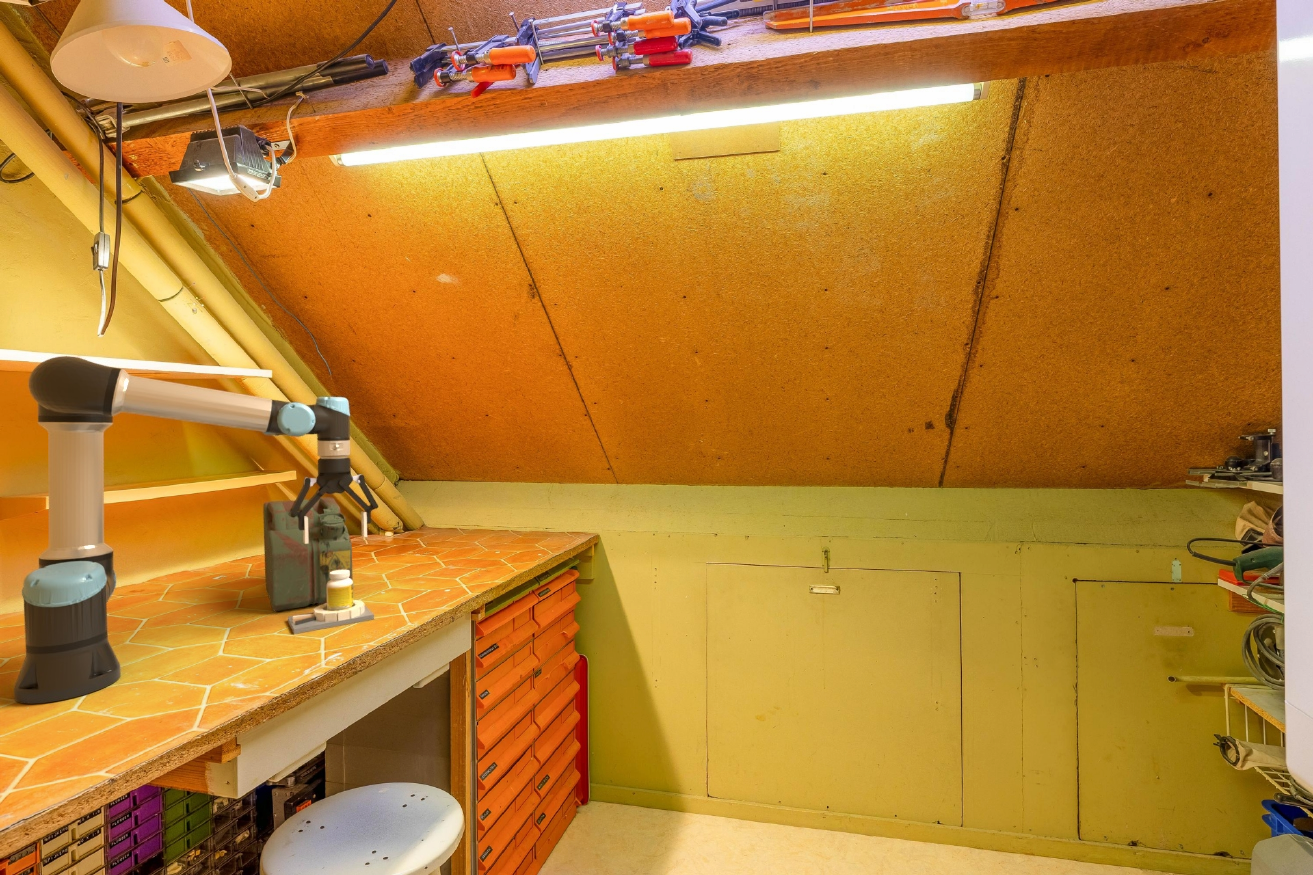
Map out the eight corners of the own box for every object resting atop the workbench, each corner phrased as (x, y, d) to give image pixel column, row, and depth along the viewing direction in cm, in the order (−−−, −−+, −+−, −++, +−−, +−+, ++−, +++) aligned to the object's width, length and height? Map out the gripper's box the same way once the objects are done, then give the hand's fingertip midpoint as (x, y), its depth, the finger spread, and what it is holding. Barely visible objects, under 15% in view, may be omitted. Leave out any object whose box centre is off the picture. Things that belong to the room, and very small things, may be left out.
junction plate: (294, 634, 151) (293, 620, 151) (287, 621, 161) (287, 609, 161) (374, 619, 162) (373, 606, 162) (363, 608, 172) (363, 596, 172)
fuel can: (273, 616, 166) (270, 513, 165) (265, 587, 194) (262, 500, 193) (353, 603, 177) (351, 507, 176) (334, 577, 205) (332, 495, 204)
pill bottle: (357, 613, 163) (356, 571, 163) (332, 619, 158) (331, 575, 158) (348, 608, 167) (347, 567, 167) (323, 613, 163) (322, 571, 162)
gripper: (279, 460, 151) (281, 548, 151) (389, 455, 166) (390, 535, 166) (275, 458, 157) (278, 543, 157) (382, 454, 172) (383, 531, 172)
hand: (335, 539), depth 162 cm, fingers open, 13 cm apart
